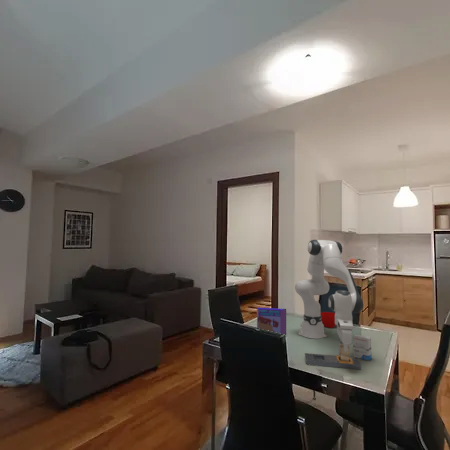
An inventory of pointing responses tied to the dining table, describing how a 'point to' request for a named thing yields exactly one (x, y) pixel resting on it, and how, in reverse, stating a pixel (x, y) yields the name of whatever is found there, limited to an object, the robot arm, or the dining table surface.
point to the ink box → (362, 347)
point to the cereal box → (272, 319)
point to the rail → (332, 361)
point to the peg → (344, 353)
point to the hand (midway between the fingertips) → (343, 347)
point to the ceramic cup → (328, 319)
